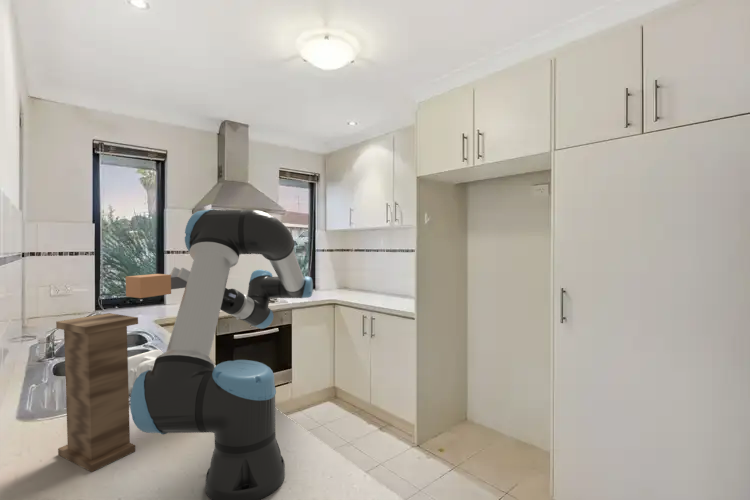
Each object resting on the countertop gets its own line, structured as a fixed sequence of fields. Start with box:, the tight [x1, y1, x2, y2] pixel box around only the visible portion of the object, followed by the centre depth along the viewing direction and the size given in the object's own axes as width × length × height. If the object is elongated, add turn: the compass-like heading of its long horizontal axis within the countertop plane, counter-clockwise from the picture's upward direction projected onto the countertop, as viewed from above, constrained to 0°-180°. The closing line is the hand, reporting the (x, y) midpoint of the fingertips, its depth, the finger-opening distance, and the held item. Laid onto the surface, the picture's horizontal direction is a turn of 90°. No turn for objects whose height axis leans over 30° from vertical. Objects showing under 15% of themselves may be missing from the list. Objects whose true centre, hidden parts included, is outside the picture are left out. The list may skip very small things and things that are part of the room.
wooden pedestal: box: [55, 312, 139, 473], centre depth 90 cm, size 14×11×30 cm
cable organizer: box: [128, 349, 164, 395], centre depth 126 cm, size 15×11×12 cm
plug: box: [125, 273, 187, 299], centre depth 105 cm, size 6×19×5 cm, turn 152°
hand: (176, 272), depth 106 cm, fingers closed on plug, 3 cm apart
